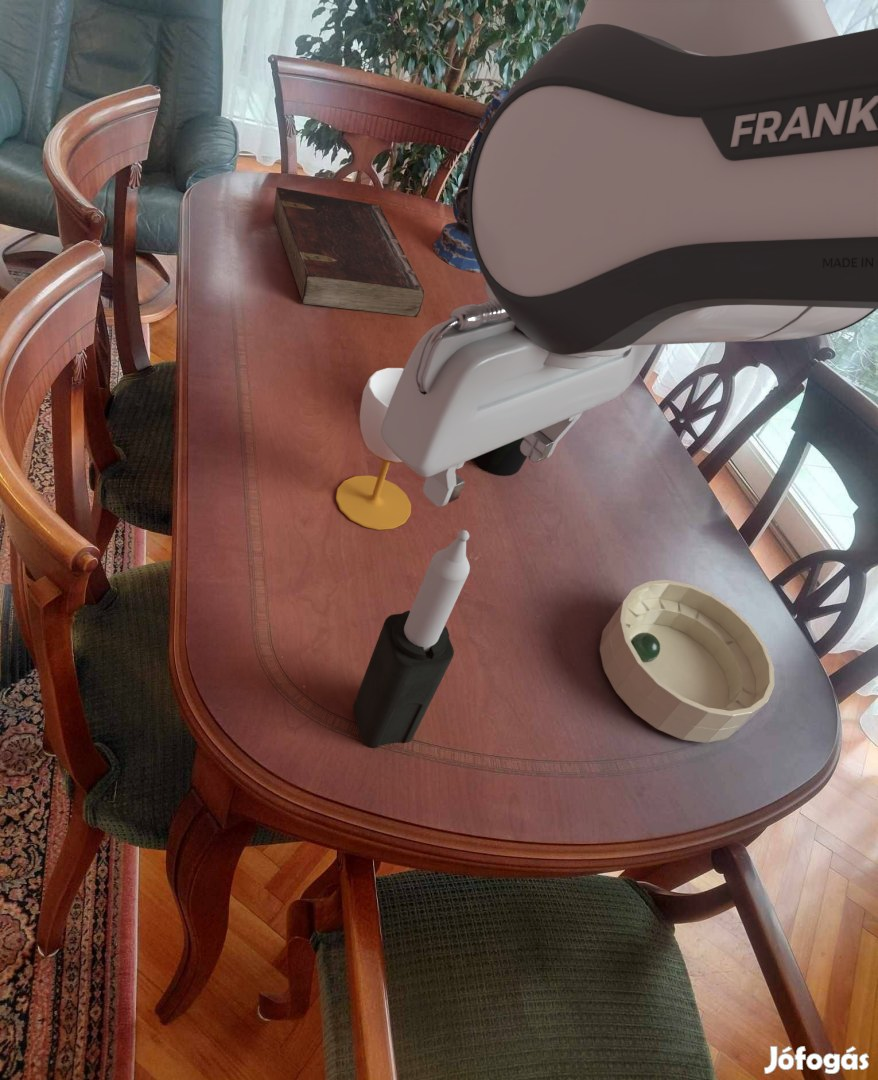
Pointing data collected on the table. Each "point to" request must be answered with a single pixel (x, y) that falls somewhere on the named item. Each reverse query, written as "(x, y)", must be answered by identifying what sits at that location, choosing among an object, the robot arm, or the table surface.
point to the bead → (646, 646)
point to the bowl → (687, 662)
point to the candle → (412, 654)
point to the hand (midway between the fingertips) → (488, 475)
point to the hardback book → (345, 254)
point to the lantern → (465, 206)
